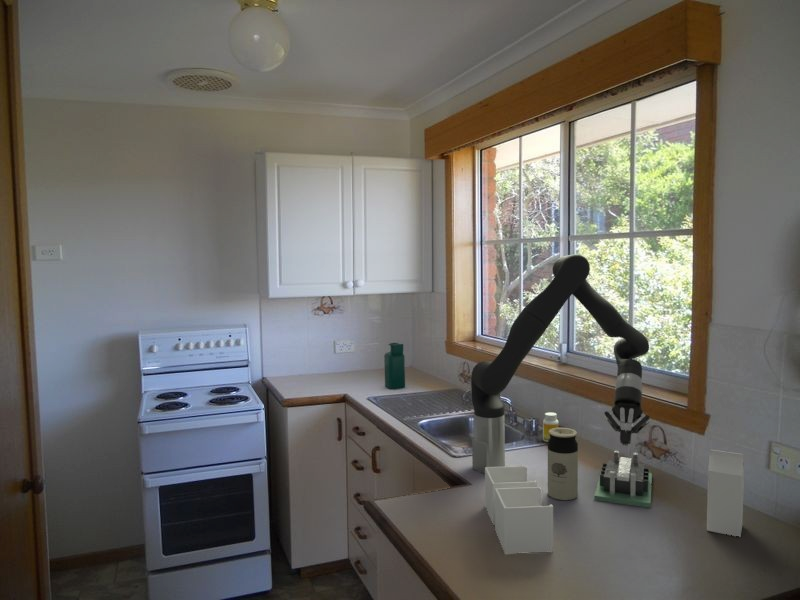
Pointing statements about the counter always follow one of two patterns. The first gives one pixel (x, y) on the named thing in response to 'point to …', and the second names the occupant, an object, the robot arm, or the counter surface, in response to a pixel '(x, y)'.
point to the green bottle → (395, 367)
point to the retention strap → (624, 469)
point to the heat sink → (632, 487)
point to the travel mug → (562, 464)
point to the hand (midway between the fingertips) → (625, 444)
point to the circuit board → (624, 496)
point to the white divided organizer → (518, 510)
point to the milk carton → (725, 492)
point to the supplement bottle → (549, 424)
